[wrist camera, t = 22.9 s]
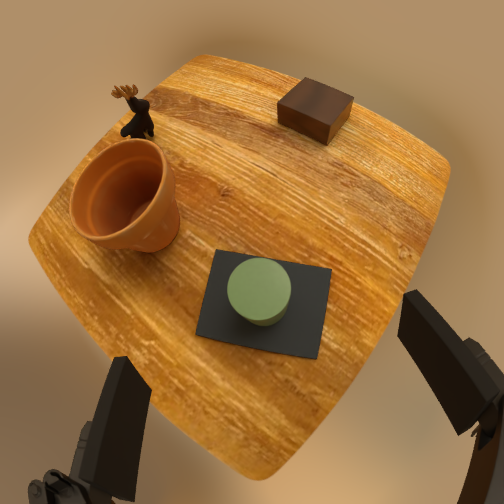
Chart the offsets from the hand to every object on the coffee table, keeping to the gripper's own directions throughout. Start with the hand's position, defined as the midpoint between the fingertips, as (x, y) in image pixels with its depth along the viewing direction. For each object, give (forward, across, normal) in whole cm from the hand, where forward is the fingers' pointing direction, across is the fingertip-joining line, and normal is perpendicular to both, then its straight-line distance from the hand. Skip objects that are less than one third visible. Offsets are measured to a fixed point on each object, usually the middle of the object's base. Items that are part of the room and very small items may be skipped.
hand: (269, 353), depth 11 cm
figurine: (+46, -16, +12) cm, 50 cm away
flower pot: (+31, -14, -2) cm, 34 cm away
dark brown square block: (+42, +16, +8) cm, 46 cm away
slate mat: (+20, 0, -13) cm, 24 cm away
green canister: (+20, 0, -12) cm, 23 cm away
